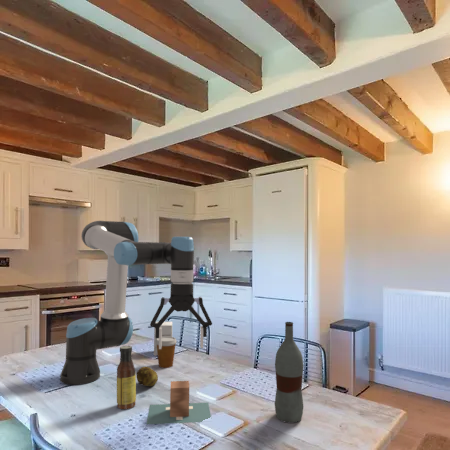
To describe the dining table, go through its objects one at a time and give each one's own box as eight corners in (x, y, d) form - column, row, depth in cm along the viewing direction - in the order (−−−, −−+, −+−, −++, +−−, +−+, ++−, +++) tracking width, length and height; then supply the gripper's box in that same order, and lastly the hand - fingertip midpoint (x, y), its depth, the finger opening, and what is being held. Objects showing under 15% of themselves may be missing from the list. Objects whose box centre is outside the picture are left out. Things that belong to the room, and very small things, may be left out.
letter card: (146, 424, 114) (146, 424, 114) (149, 405, 128) (149, 404, 128) (211, 421, 116) (211, 421, 117) (208, 403, 130) (208, 402, 130)
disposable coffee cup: (174, 369, 165) (175, 341, 166) (153, 369, 165) (153, 341, 166) (177, 362, 175) (178, 336, 175) (157, 362, 175) (157, 336, 176)
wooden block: (169, 417, 119) (170, 388, 119) (170, 409, 125) (170, 381, 125) (188, 416, 120) (189, 387, 120) (188, 408, 126) (188, 380, 126)
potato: (166, 382, 150) (166, 361, 150) (147, 393, 138) (147, 371, 138) (148, 379, 153) (149, 359, 154) (128, 390, 141) (129, 368, 142)
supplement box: (154, 350, 194) (155, 321, 194) (172, 350, 195) (172, 321, 195) (153, 356, 185) (154, 325, 185) (171, 355, 186) (172, 325, 186)
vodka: (308, 421, 117) (308, 324, 119) (282, 425, 115) (282, 326, 116) (295, 409, 126) (295, 319, 128) (269, 412, 124) (270, 320, 125)
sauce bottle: (139, 404, 129) (140, 345, 130) (128, 411, 123) (130, 350, 124) (122, 401, 131) (124, 343, 132) (112, 408, 125) (113, 348, 126)
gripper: (142, 284, 120) (141, 351, 118) (220, 283, 123) (219, 349, 122) (144, 281, 127) (143, 345, 126) (217, 281, 130) (217, 343, 129)
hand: (181, 347), depth 124 cm, fingers open, 13 cm apart
